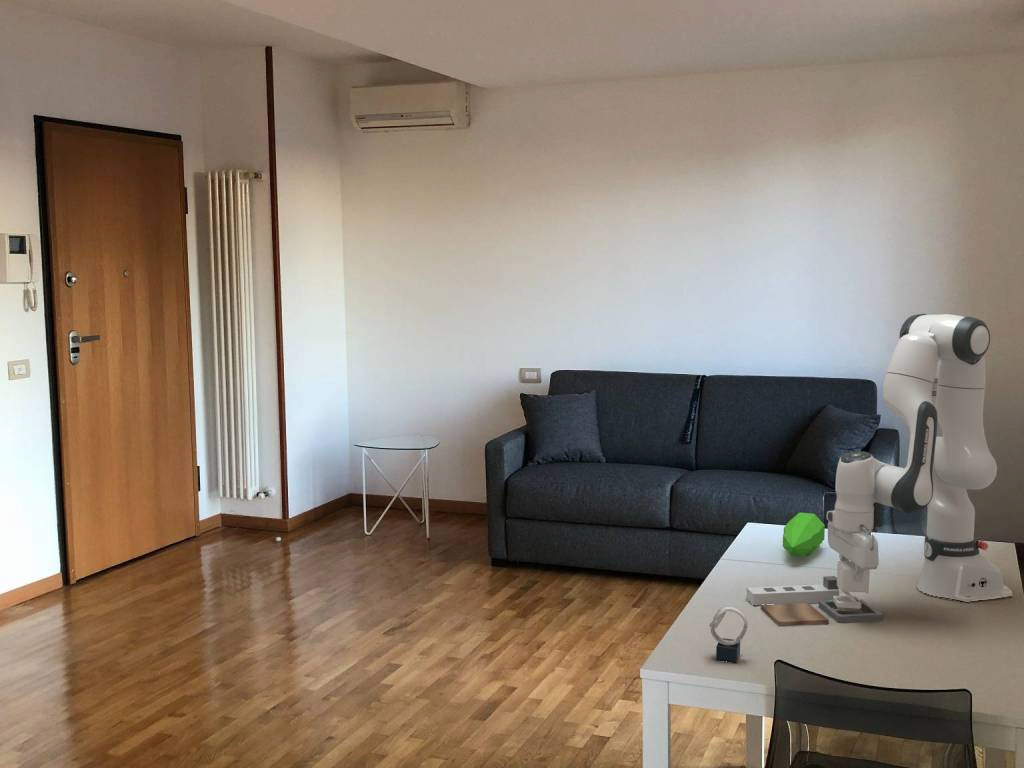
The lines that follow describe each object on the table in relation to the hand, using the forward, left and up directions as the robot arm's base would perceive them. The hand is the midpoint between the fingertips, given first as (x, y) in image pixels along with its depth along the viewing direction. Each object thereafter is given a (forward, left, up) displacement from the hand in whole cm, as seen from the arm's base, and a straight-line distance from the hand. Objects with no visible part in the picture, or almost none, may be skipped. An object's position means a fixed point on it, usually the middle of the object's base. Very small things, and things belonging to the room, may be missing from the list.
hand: (851, 577), depth 254 cm
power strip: (+10, -9, -9) cm, 16 cm away
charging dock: (0, 0, -9) cm, 9 cm away
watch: (+38, +23, -9) cm, 45 cm away
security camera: (0, 0, -7) cm, 7 cm away
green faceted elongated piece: (-7, -50, -9) cm, 51 cm away
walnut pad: (+14, 0, -9) cm, 17 cm away
